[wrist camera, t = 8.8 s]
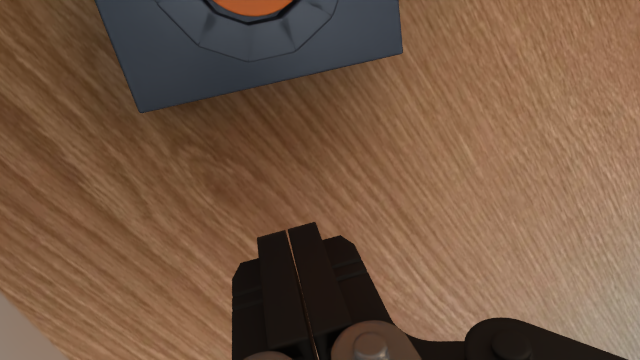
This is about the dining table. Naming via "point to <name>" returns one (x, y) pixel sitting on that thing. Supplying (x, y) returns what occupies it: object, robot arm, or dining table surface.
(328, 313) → the robot arm
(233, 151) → the dining table surface
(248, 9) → the button
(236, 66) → the control block
